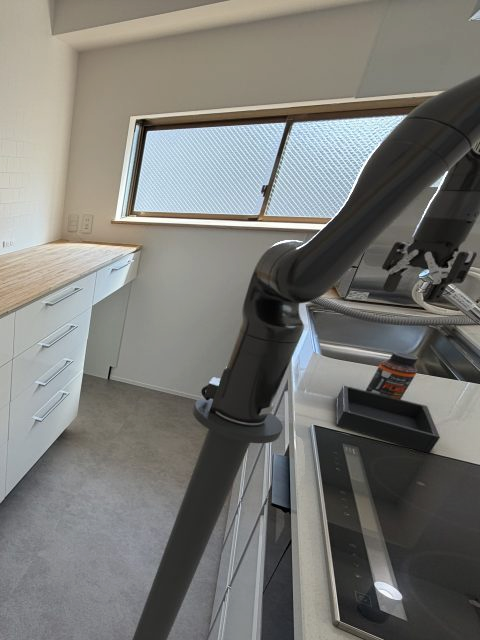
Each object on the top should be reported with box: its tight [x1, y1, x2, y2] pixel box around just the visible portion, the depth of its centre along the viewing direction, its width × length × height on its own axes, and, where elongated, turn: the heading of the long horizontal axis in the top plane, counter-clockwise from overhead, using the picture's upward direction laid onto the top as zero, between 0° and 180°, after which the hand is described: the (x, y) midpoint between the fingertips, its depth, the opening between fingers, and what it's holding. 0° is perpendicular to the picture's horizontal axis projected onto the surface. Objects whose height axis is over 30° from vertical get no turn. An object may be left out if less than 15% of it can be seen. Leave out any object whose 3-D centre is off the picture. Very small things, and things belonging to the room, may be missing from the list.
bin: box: [335, 384, 441, 454], centre depth 84 cm, size 14×16×4 cm
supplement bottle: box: [365, 351, 419, 400], centre depth 91 cm, size 6×6×11 cm
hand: (407, 296), depth 89 cm, fingers open, 8 cm apart
